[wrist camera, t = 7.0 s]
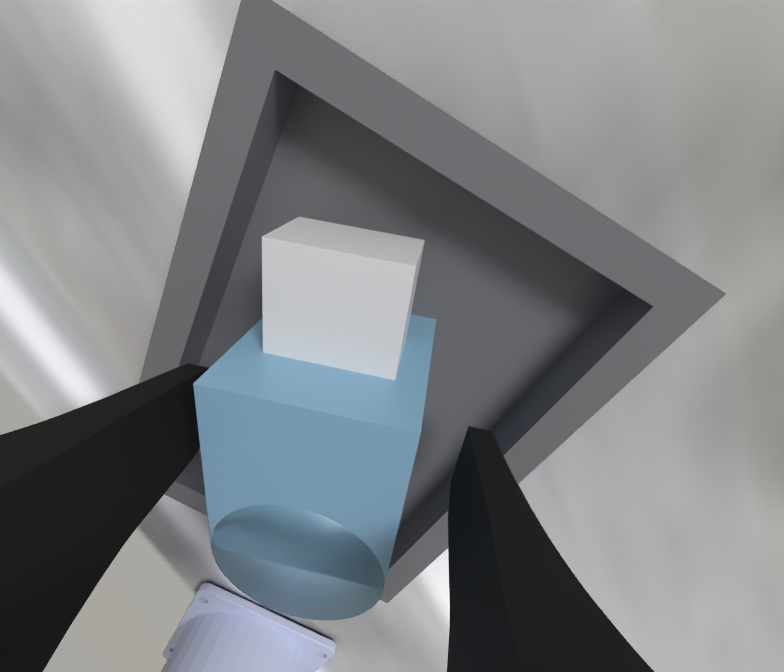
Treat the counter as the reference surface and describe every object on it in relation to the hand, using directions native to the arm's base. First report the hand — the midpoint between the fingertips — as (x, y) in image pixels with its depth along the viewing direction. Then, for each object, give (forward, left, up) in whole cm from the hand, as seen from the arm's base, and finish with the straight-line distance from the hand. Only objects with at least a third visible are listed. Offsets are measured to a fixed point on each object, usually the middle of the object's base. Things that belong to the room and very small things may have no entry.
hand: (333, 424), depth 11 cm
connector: (0, 0, -2) cm, 2 cm away
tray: (0, 0, -3) cm, 3 cm away
